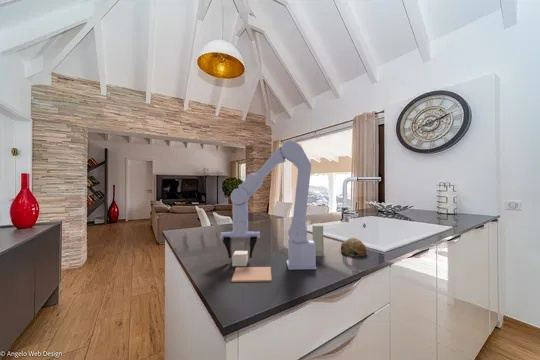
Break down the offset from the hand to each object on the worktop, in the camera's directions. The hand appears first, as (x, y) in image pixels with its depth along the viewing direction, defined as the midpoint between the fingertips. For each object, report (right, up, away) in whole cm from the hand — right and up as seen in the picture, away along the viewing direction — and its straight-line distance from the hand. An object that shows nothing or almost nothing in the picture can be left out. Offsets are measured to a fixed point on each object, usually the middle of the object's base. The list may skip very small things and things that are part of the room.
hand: (240, 257), depth 82 cm
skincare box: (+31, -2, +9) cm, 32 cm away
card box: (0, -2, 0) cm, 2 cm away
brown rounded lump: (+46, -2, +10) cm, 47 cm away
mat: (+5, -2, -11) cm, 12 cm away
